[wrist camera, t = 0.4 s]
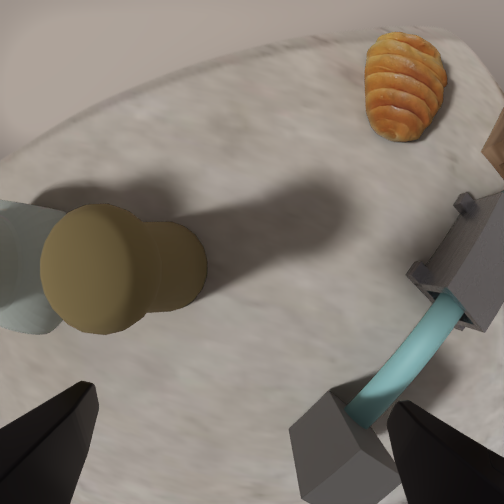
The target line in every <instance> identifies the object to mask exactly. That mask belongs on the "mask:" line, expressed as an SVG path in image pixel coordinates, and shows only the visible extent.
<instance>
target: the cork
mask: <svg viewBox="0 0 504 504" xmlns="http://www.w3.org/2000/svg"><path fill="white" fill-rule="evenodd" d="M206 276H207V258H206V255H205V251H204V248H203V246H202V244H201V243H200V241H199V240H198V238H197V237H196V235H195V234H194V233H192V232H191V231H190V230H188V229H187V228H186V227H185V226H182V225H179V224H176V223H173V222H142V221H141V220H139V219H138V218H137V217H136V216H135V215H133V214H132V213H131V212H129V211H127V210H125V209H122V208H119V207H116V206H113V205H110V204H89V205H84V206H82V207H79V208H77V209H75V210H72V211H70V212H68V213H67V214H66V215H65V216H64V217H63V218H62V219H61V220H60V221H59V222H57V223H56V224H55V226H54V227H53V228H52V230H51V232H50V234H49V235H48V237H47V239H46V241H45V243H44V246H43V250H42V254H41V258H40V278H41V282H42V286H43V290H44V294H45V296H46V298H47V300H48V301H49V303H50V305H51V307H52V309H53V310H54V311H55V312H56V313H57V314H58V315H59V316H60V317H61V318H62V319H63V320H64V321H65V322H66V323H67V324H68V325H70V326H72V327H74V328H76V329H78V330H80V331H82V332H85V333H93V334H101V335H108V334H112V333H116V332H120V331H123V330H125V329H127V328H129V327H130V326H132V325H133V324H134V323H136V322H137V321H139V320H140V319H142V318H143V317H144V316H145V314H146V313H152V312H168V311H173V310H176V309H180V308H183V307H184V306H186V305H187V304H189V303H190V302H192V301H193V300H194V299H195V298H196V296H197V295H198V294H199V292H200V291H201V290H202V288H203V285H204V282H205V279H206Z"/></svg>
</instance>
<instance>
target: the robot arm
mask: <svg viewBox="0 0 504 504" xmlns="http://www.w3.org/2000/svg"><path fill="white" fill-rule="evenodd" d="M98 411H99V402H98V398H97V393H96V388H95V385H94V384H93V383H90V382H86V381H80V382H78V383H76V384H74V385H73V386H71V387H69V388H68V389H66V390H65V391H63V392H61V393H60V394H58V395H56V396H55V397H53V398H51V399H50V400H48V401H46V402H45V403H43V404H41V405H40V406H38V407H36V408H34V409H33V410H31V411H29V412H28V413H26V414H24V415H23V416H21V417H19V418H18V419H16V420H14V421H13V422H11V423H9V424H7V425H6V426H4V427H2V428H1V429H0V504H70V503H71V500H72V497H73V494H74V491H75V488H76V485H77V482H78V479H79V476H80V474H81V471H82V468H83V465H84V463H85V460H86V457H87V454H88V451H89V447H90V443H91V439H92V434H93V430H94V426H95V422H96V418H97V415H98ZM387 428H388V432H389V437H390V441H391V446H392V451H393V455H394V460H395V464H396V467H397V470H398V473H399V476H400V479H401V483H402V486H403V489H404V492H405V495H406V498H407V501H408V504H504V457H502V456H500V455H498V454H496V453H495V452H493V451H491V450H490V449H487V448H486V447H484V446H483V445H481V444H479V443H478V442H476V441H474V440H473V439H471V438H469V437H468V436H466V435H464V434H463V433H461V432H459V431H458V430H456V429H454V428H453V427H451V426H449V425H448V424H446V423H445V422H443V421H441V420H440V419H438V418H437V417H435V416H433V415H432V414H430V413H428V412H427V411H425V410H424V409H422V408H421V407H419V406H417V405H416V404H414V403H413V402H411V401H409V400H405V401H398V402H397V403H396V404H395V406H394V408H393V410H392V412H391V414H390V416H389V418H388V421H387Z"/></svg>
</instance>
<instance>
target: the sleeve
mask: <svg viewBox="0 0 504 504" xmlns="http://www.w3.org/2000/svg"><path fill="white" fill-rule="evenodd" d="M453 206H454V207H455V208H456V209H457V210H458V211H459V213H460V215H459V217H458V218H457V220H456V222H455V223H454V225H453V226H452V228H451V229H450V231H449V233H448V234H447V236H446V237H445V239H444V240H443V242H442V243H441V245H440V246H439V248H438V249H437V251H436V252H435V254H434V255H433V256H432V258H431V259H430V261H429V262H428V264H427V265H426V266H425V265H424V264H423V263H422V262H415V263H414V264H413V265H412V267H411V268H410V269H409V271H408V272H407V273H406V276H407V277H408V278H409V279H410V280H411V281H412V282H413V283H414V284H415V285H416V286H417V287H418V288H419V289H420V290H421V292H422V293H423V294H424V295H425V296H426V297H427V298H428V299H429V300H430V301H431V302H432V303H434V302H435V300H436V299H437V297H438V296H439V295H440V293H445V294H449V295H450V296H451V297H452V299H453V300H454V301H455V302H456V303H457V304H458V306H459V307H460V308H461V309H462V310H463V311H464V313H463V315H462V316H461V318H460V319H459V321H458V322H457V324H456V325H455V326H454V328H455V329H458V330H461V331H463V329H464V328H465V327H468V328H471V329H474V330H478V331H481V332H484V333H485V332H486V330H487V329H488V327H489V325H490V324H491V322H492V321H493V319H494V317H495V316H496V314H497V312H498V311H499V309H500V307H501V306H502V304H503V302H504V193H503V192H501V193H498V194H495V195H491V196H488V197H485V198H481V199H478V200H473V199H472V198H471V196H470V195H469V194H468V193H467V192H466V193H463V194H460V195H459V197H458V199H457V200H456V202H455V203H454V205H453Z"/></svg>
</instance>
